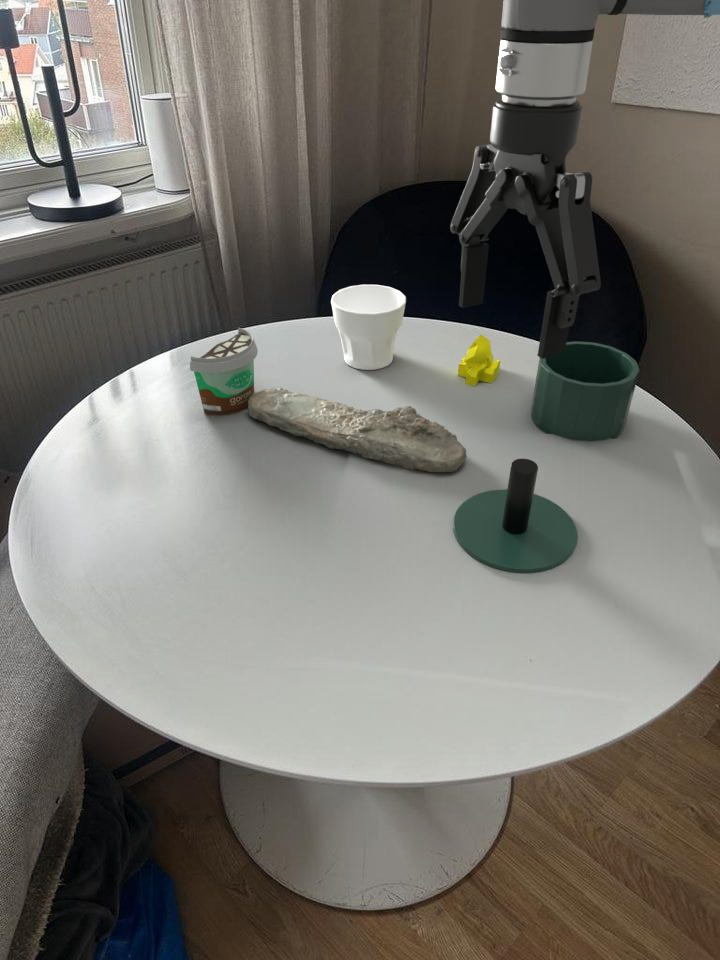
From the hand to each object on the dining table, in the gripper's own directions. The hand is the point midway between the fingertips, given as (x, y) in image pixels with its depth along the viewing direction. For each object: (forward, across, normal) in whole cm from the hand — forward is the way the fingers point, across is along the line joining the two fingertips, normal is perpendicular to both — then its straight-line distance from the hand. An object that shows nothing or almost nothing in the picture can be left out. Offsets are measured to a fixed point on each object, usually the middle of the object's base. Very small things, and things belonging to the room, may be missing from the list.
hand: (508, 328), depth 73 cm
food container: (+26, -40, -18) cm, 51 cm away
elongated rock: (+26, -24, -7) cm, 35 cm away
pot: (+25, -12, +26) cm, 38 cm away
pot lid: (+25, +4, +1) cm, 25 cm away
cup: (+26, -44, +7) cm, 52 cm away
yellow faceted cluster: (+26, -31, +21) cm, 45 cm away
